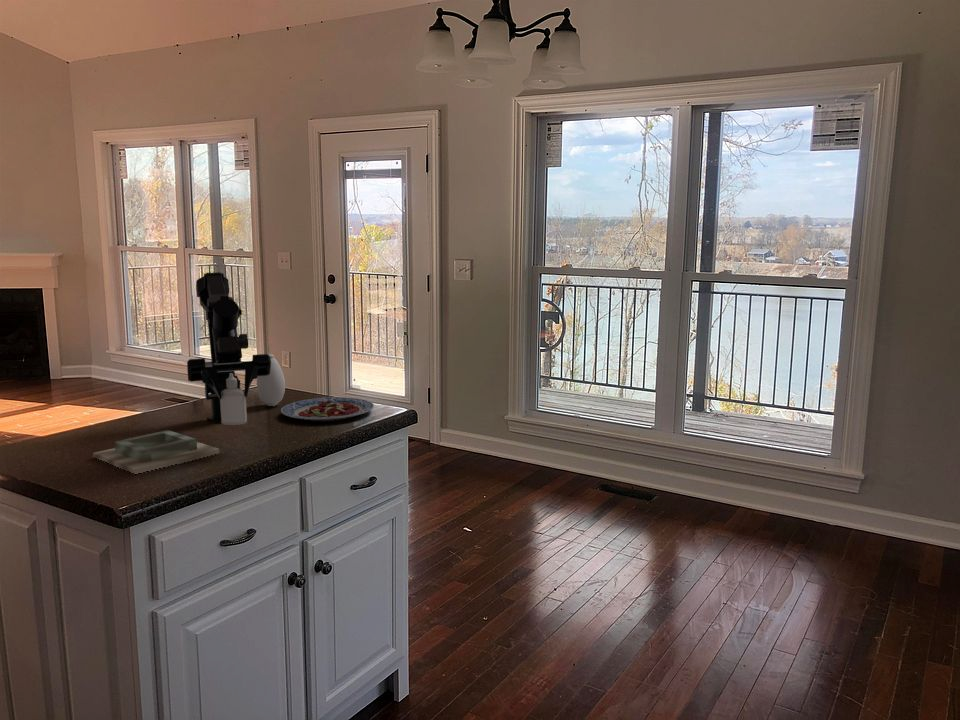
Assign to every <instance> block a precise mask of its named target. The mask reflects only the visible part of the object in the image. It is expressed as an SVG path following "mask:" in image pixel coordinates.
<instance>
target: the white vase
mask: <svg viewBox="0 0 960 720" xmlns="http://www.w3.org/2000/svg"><path fill="white" fill-rule="evenodd" d="M267 351H268V353H267V354H268V355H269V356H270V359H271V367H270V374H269V375H267V376H258V377H257V379H256V389H257V390H256V391H257V393H258V397H259V399H260V400H261V403H264V404H265V405H266V406H268V407H270V406H273V407H275V406H276V405H278V404H279V403H280V402H282V400H283V398H284V395H285V391H286V381H285V376H284V375H285V374H284V372H283V370H282V369H283V368H282V367H281V365H280V363H279V362H278V361H277V359H276V358H275V355H274V354H272V353H271V349H270V345H269V346H268V348H267Z"/></svg>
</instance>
